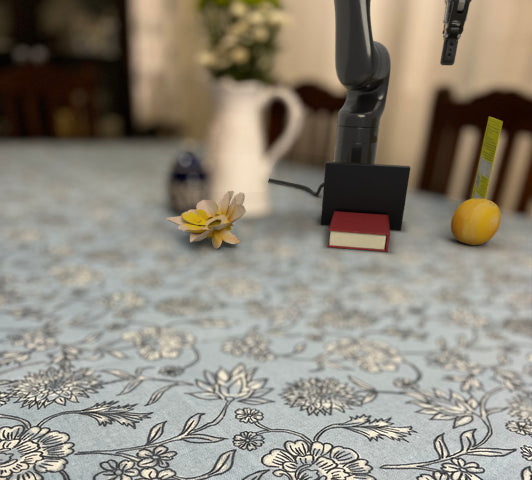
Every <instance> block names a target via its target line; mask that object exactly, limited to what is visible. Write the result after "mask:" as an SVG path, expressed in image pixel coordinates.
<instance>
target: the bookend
mask: <svg viewBox="0 0 532 480" xmlns="http://www.w3.org/2000/svg"><path fill="white" fill-rule="evenodd" d="M331 161H332V160H331ZM331 161H329V160H327V161H326V162H325V166H324V179H323V183H324V187H323V188H322V189H323V190H322V202H321V203H322V204H321V216H320V225H321V226H330V224H331V221H332V218H333V215H334V211H338V212H352V213H366V214H380V215H388V216H389V227H390V231H398V232H401V231H402V225H403V221H404V220H403V219H404V212H405V206H406V199H407V193H408V186H409V181H410V174H411V166H410V165H400V164H399V165H398V164H384V163H383V164H381V163H375V164H366V163H349V162H331Z"/></svg>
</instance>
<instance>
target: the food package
mask: <svg viewBox="0 0 532 480" xmlns="http://www.w3.org/2000/svg"><path fill="white" fill-rule="evenodd" d="M503 123H504V121H503V120H500V119H498V118H495V117H492V116H488V118H487V124H486V128H485V131H484V136H483V141H482V146H481V151H480V156H479V159H478V160H479V161H478V164H477V165H478V166H477V170H476V175H475V179H474V184H473V189H472V193H471V198H470V199H474V198H481V199H487V195H488V190H489V187H490V181H491V177H492V172H493V168H494V163H495V159H496V154H497V150H498V145H499V140H500V136H501V132H502V128H503Z"/></svg>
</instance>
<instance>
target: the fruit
mask: <svg viewBox="0 0 532 480" xmlns="http://www.w3.org/2000/svg"><path fill="white" fill-rule="evenodd" d="M501 220H502V215H501V210H500V208H499V206H498V205H497V204H496V203H495V202H493V201H492V200H490V199H487V198H486V199H481V198H474V199H471V198H470V199H467V200H465V201H463V202H462V203H461V204H459V206H457V208H456V209H455V211H454V212H453V215H452V217H451V221H450V230H451V233H452V235H453V237H454V238H455V239H456V240H457V241H458V242H460V243H462V244H466V245H469V246H478V245H483V244H485V243H487V242H489V241H491V239H492V238H493V237H494V236H495V235H496V233H497V232H498V231H499V227H500V224H501Z"/></svg>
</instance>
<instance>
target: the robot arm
mask: <svg viewBox="0 0 532 480" xmlns="http://www.w3.org/2000/svg"><path fill="white" fill-rule="evenodd" d="M371 1H372V0H333V5H334V23H335V24H334V27H335V28H334V30H335V31H334V35H335V37H334V64H335V65H334V68H335V73H336V77H337V79H338V81H339V83H340V85H341V86H342V87H343V88H345V89H346V90H347V92H346V97H345V101H344V103H343V105H342V107H341V108H340V109H339V111H338V112H337V115H336V127H335V128H336V129H335V140H334V153H333V160H331V162H349V163H366V164H376V157H377V149H378V140H379V134H380V133H379V132H380V125H381V119H382V116H383V114H384V112H385V109H386V104H387V96H388V93H389V92H388V91H389V86H390V77H391V68H392V62H391V55H390V52H389V50H388V48H387V47H386V46H385V45H384V44H383V43H381V42H379V41H376V40H374V37H373V30H372V29H373V28H372V19H371V17H372V16H371ZM471 2H472V0H444V5H445V6H444V12H443V18H442V24H443V28H442V29H443V30H442V40H443V44H442V50H441V55H440V61H439V63H440V65H441V66H454V64H455V61H456V56H457V52H458V51H457V50H458V44H459V40H460V39H461V37H462V35H463V32H464V29H465V28H464V27H465V24H466V22H467V20H468V14H469V8H470V4H471ZM268 178H269V177H268ZM268 182H270V183H274V184H275V183H276V184H280V185H284V186H289V187H294V188H299V189H303V190H306V191H307V192H308V193H309V194H311V196H314V197H318V196H319V195H320V193H321V191H322V189H324V182H322V183H321V184H320V185H319V186H318V188H317V190H316V192H315V191H314V190H312V189H311V188H310V187H309V186H306V185H304V184H299V183H294V182H290V181H284V180H279V179H276V178H275V179H274V178H269V181H268Z"/></svg>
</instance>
